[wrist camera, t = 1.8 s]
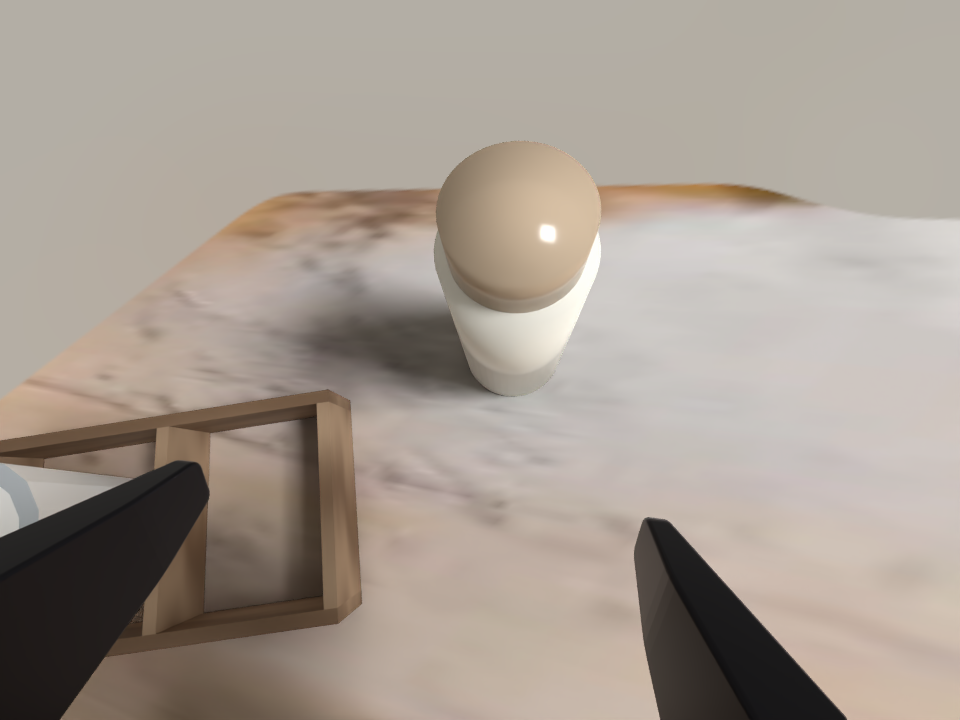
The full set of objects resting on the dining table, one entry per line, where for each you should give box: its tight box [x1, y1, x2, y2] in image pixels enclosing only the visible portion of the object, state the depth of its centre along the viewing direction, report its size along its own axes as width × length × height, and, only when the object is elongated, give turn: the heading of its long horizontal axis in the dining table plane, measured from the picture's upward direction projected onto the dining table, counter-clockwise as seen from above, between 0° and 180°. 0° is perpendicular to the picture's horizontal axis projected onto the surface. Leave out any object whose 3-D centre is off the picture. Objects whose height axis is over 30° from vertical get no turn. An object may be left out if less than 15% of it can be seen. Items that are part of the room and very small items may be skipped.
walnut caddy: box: [0, 390, 362, 657], centre depth 21 cm, size 10×18×3 cm, turn 98°
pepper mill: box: [434, 141, 601, 397], centre depth 18 cm, size 5×5×13 cm
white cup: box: [0, 463, 133, 537], centre depth 19 cm, size 7×7×7 cm
